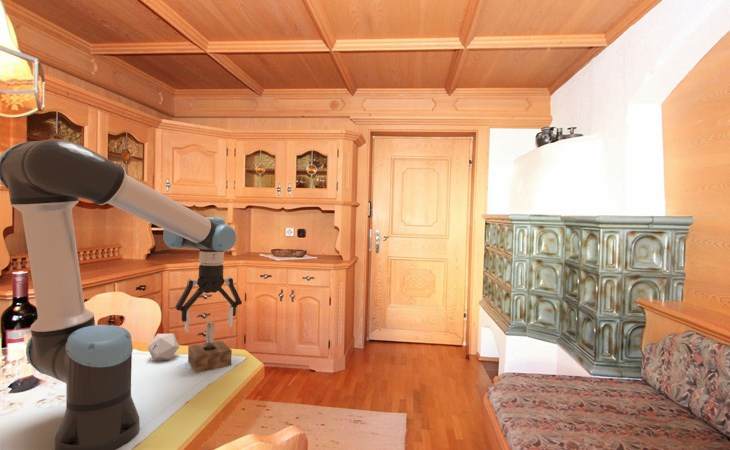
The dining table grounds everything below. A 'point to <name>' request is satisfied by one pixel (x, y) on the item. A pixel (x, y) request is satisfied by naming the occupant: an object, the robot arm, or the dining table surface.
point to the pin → (209, 336)
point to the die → (163, 346)
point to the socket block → (209, 356)
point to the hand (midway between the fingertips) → (209, 328)
